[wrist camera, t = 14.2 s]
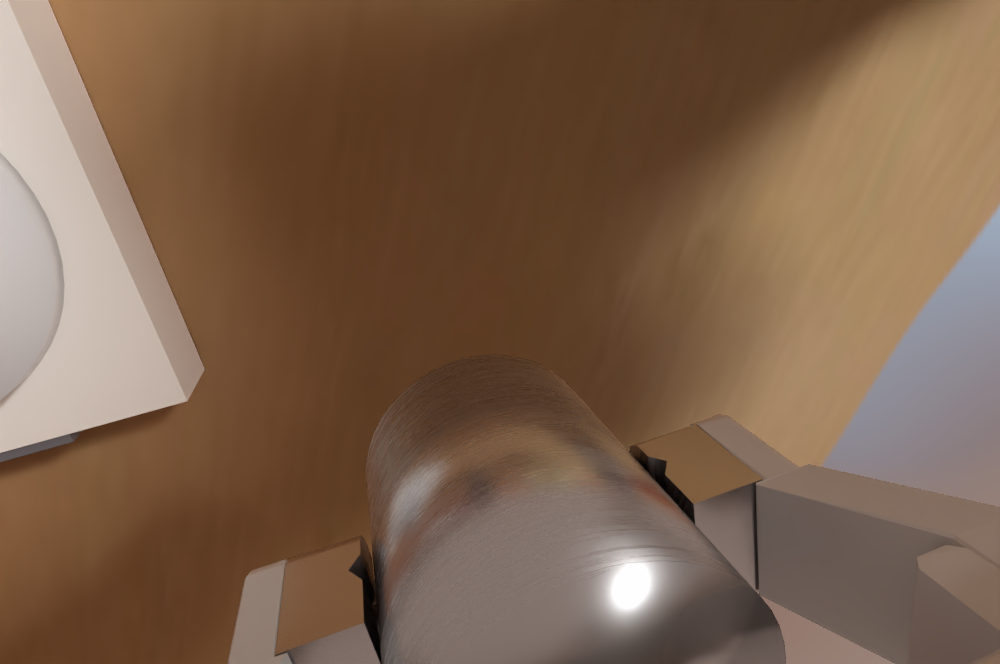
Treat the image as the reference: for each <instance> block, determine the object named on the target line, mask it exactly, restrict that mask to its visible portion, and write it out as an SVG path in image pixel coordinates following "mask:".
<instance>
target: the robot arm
mask: <svg viewBox="0 0 1000 664" xmlns="http://www.w3.org/2000/svg"><path fill="white" fill-rule="evenodd" d="M630 453H631V454H632V455H633V457H634V458H635V459H636V460H637V461H638V462H639V463H640V464H641V465H642V466H643V468H644V469H645V470H646V471H647V472H648V473H649V474H650V475H651V476H652V477H653V479H654V480H655V481H656V482H657V483H658V484H659V485H660V486H661V487H662V489H663V490H664V491H665V492H666V493H667V494H668V495H669V496H670V497H671V498H672V500H673V501H674V502H675V503H676V504H677V505H678V506H679V507H680V508H681V509H682V511H683V512H684V513H685V514H686V515H687V516H688V517H689V518H690V519H691V520H692V522H693V523H694V524H695V525H696V526H697V527H698V528H699V529H700V530H701V532H702V533H703V534H704V535H705V536H706V537H707V538H708V539H709V540H710V541H711V543H712V544H713V545H714V546H715V547H716V548H717V549H718V550H719V551H720V552H721V554H722V555H723V556H724V557H725V558H726V559H727V560H728V561H729V562H730V563H731V565H732V566H733V567H734V568H735V569H736V570H737V571H738V572H739V573H740V575H741V576H742V577H743V578H744V579H745V580H746V581H747V582H748V583H749V584H750V586H751V587H752V588H753V589H754V590H755V591H756V592H758V591H759V595H761V596H763V597H765V598H767V599H769V600H771V601H773V602H775V603H777V604H779V605H781V606H783V607H785V608H787V609H788V610H791V611H792V612H795V613H797V614H798V615H800V616H802V617H804V618H806V619H808V620H810V621H812V622H814V623H816V624H818V625H820V626H822V627H824V628H826V629H828V630H830V631H832V632H834V633H836V634H838V635H840V636H842V637H844V638H846V639H848V640H850V641H852V642H854V643H856V644H858V645H860V646H862V647H863V648H865V649H867V650H869V651H871V652H873V653H875V654H877V655H879V656H881V657H883V658H885V659H887V660H889V661H891V662H893V663H895V664H1000V507H996V506H993V505H987V504H984V503H979V502H974V501H970V500H966V499H961V498H957V497H953V496H948V495H944V494H939V493H935V492H930V491H926V490H921V489H917V488H912V487H908V486H904V485H899V484H895V483H890V482H886V481H881V480H877V479H872V478H868V477H864V476H859V475H855V474H850V473H846V472H841V471H837V470H832V469H828V468H824V467H819V466H815V465H810V464H808V465H805V466H802V467H798V466H797V465H795V464H794V463H792V462H791V461H790V460H788V459H787V458H785V457H784V456H783V455H781V454H780V453H779V452H777V451H776V450H774V449H773V448H772V447H770V446H769V445H767V444H766V443H765V442H763V441H762V440H761V439H759V438H758V437H756V436H755V435H754V434H752V433H751V432H749V431H748V430H747V429H745V428H744V427H743V426H741V425H740V424H738V423H737V422H736V421H734V420H733V419H731V418H730V417H729V416H727V415H722V414H718V415H716V416H713V417H710V418H707V419H705V420H702V421H699V422H697V423H694V424H691V425H690V426H689V427H686V428H683V429H680V430H677V431H674V432H671V433H668V434H665V435H662V436H659V437H657V438H654V439H651V440H648V441H645V442H642V443H639V444H636V445H633V446H630ZM227 664H382V660H381V648H380V636H379V624H378V612H377V600H376V589H375V579H374V573H373V563H372V557H371V554H370V552H369V549H368V546H367V544H366V541H365V539H364V538H363V537H362V536H358V537H355V538H352V539H349V540H345V541H342V542H339V543H336V544H333V545H329V546H326V547H323V548H320V549H316V550H313V551H310V552H307V553H304V554H300V555H297V556H294V557H291V558H289V559H285V560H282V561H279V562H276V563H273V564H270V565H267V566H263V567H260V568H257V569H254V570H251V571H250V573H249V574H248V575H247V576H246V578H245V581H244V586H243V591H242V595H241V600H240V605H239V610H238V615H237V619H236V624H235V629H234V634H233V639H232V643H231V648H230V653H229V658H228V663H227Z"/></svg>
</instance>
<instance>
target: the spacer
mask: <svg viewBox="0 0 1000 664" xmlns="http://www.w3.org/2000/svg"><path fill="white" fill-rule="evenodd" d="M366 482H367V494H368V506H369V518H370V529H371V541H372V553H373V565H374V577H375V589H376V600H377V612H378V624H379V636H380V648H381V660H382V664H786V655H785V645H784V640H783V636H782V633H781V629H780V626H779V624H778V622H777V620H776V618H775V616H774V614H773V612H772V610H771V609H770V608H769V607H768V605H767V604H766V603H765V602H764V600H763V599H762V598H761V597H760V595H759V594H758V593H757V592H756V591H755V590H754V589H753V588H752V587H751V586H750V584H749V583H748V582H747V581H746V580H745V579H744V578H743V577H742V576H741V575H740V573H739V572H738V571H737V570H736V569H735V568H734V567H733V566H732V565H731V563H730V562H729V561H728V560H727V559H726V558H725V557H724V556H723V555H722V554H721V552H720V551H719V550H718V549H717V548H716V547H715V546H714V545H713V544H712V543H711V541H710V540H709V539H708V538H707V537H706V536H705V535H704V534H703V533H702V532H701V530H700V529H699V528H698V527H697V526H696V525H695V524H694V523H693V522H692V520H691V519H690V518H689V517H688V516H687V515H686V514H685V513H684V512H683V511H682V509H681V508H680V507H679V506H678V505H677V504H676V503H675V502H674V501H673V500H672V498H671V497H670V496H669V495H668V494H667V493H666V492H665V491H664V490H663V489H662V487H661V486H660V485H659V484H658V483H657V482H656V481H655V480H654V479H653V477H652V476H651V475H650V474H649V473H648V472H647V471H646V470H645V469H644V468H643V466H642V465H641V464H640V463H639V462H638V461H637V460H636V459H635V458H634V457H633V455H632V454H631V453H630V452H629V451H628V450H627V449H626V448H625V447H624V446H623V444H622V443H621V442H620V441H619V440H618V439H617V438H616V437H615V436H614V434H613V433H612V432H611V431H610V430H609V429H608V428H607V427H606V426H605V425H604V423H603V422H602V421H601V420H600V419H599V418H598V417H597V416H596V415H595V414H594V412H593V411H592V410H591V409H590V408H589V407H588V406H587V405H586V404H585V403H584V401H583V400H582V399H581V398H580V397H579V396H578V395H577V394H576V393H575V391H574V390H573V389H572V388H571V387H570V386H569V385H568V384H567V383H566V382H565V381H564V380H563V379H562V378H561V377H559V376H558V375H557V374H555V373H554V372H552V371H551V370H549V369H548V368H546V367H544V366H542V365H540V364H538V363H535V362H533V361H530V360H526V359H523V358H519V357H513V356H507V355H484V356H474V357H470V358H465V359H461V360H457V361H454V362H451V363H449V364H446V365H443V366H441V367H439V368H437V369H435V370H433V371H431V372H429V373H427V374H426V375H424V376H423V377H421V378H420V379H418V380H417V381H415V382H414V383H413V384H411V385H410V386H409V387H408V388H407V389H406V390H404V391H403V392H402V393H401V394H400V395H399V396H398V397H397V398H396V400H395V401H394V402H393V403H392V404H391V405H390V407H389V408H388V409H387V411H386V412H385V413H384V415H383V416H382V418H381V420H380V422H379V424H378V425H377V427H376V429H375V431H374V434H373V437H372V439H371V442H370V445H369V450H368V454H367V460H366Z"/></svg>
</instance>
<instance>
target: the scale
mask: <svg viewBox="0 0 1000 664" xmlns="http://www.w3.org/2000/svg"><path fill="white" fill-rule="evenodd" d="M204 370H205V369H204V366H203V364H202V361H201V359H200V357H199V354H198V352H197V350H196V347H195V345H194V343H193V340H192V338H191V336H190V333H189V331H188V329H187V326H186V324H185V321H184V319H183V317H182V314H181V312H180V310H179V307H178V305H177V303H176V300H175V298H174V296H173V293H172V291H171V289H170V286H169V284H168V281H167V279H166V277H165V274H164V272H163V270H162V267H161V265H160V263H159V260H158V258H157V256H156V253H155V251H154V249H153V246H152V244H151V241H150V239H149V237H148V234H147V232H146V230H145V227H144V225H143V223H142V220H141V218H140V216H139V213H138V211H137V209H136V206H135V204H134V201H133V199H132V197H131V194H130V192H129V190H128V187H127V185H126V183H125V180H124V178H123V176H122V173H121V171H120V169H119V166H118V164H117V161H116V159H115V157H114V154H113V152H112V150H111V147H110V145H109V143H108V140H107V138H106V136H105V133H104V131H103V129H102V126H101V124H100V121H99V119H98V117H97V114H96V112H95V110H94V107H93V105H92V103H91V100H90V98H89V96H88V93H87V91H86V89H85V86H84V84H83V81H82V79H81V77H80V74H79V72H78V70H77V67H76V65H75V63H74V60H73V58H72V56H71V53H70V51H69V49H68V46H67V44H66V41H65V39H64V37H63V34H62V32H61V30H60V27H59V25H58V23H57V20H56V18H55V16H54V13H53V11H52V9H51V6H50V4H49V1H48V0H0V462H3V461H6V460H10V459H14V458H17V457H21V456H24V455H28V454H32V453H35V452H39V451H42V450H46V449H49V448H53V447H57V446H60V445H64V444H67V443H71V442H74V441H75V439H76V438H77V437H78V436H79V435H80V433H81V432H82V431H83V430H85V429H89V428H92V427H96V426H100V425H103V424H107V423H110V422H114V421H118V420H121V419H125V418H128V417H132V416H136V415H139V414H143V413H147V412H150V411H154V410H157V409H161V408H165V407H168V406H172V405H176V404H179V403H183V402H186V401H188V399H189V397H190V396H191V394H192V392H193V390H194V388H195V386H196V385H197V383H198V381H199V379H200V377H201V375H202V374H203V372H204Z"/></svg>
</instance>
